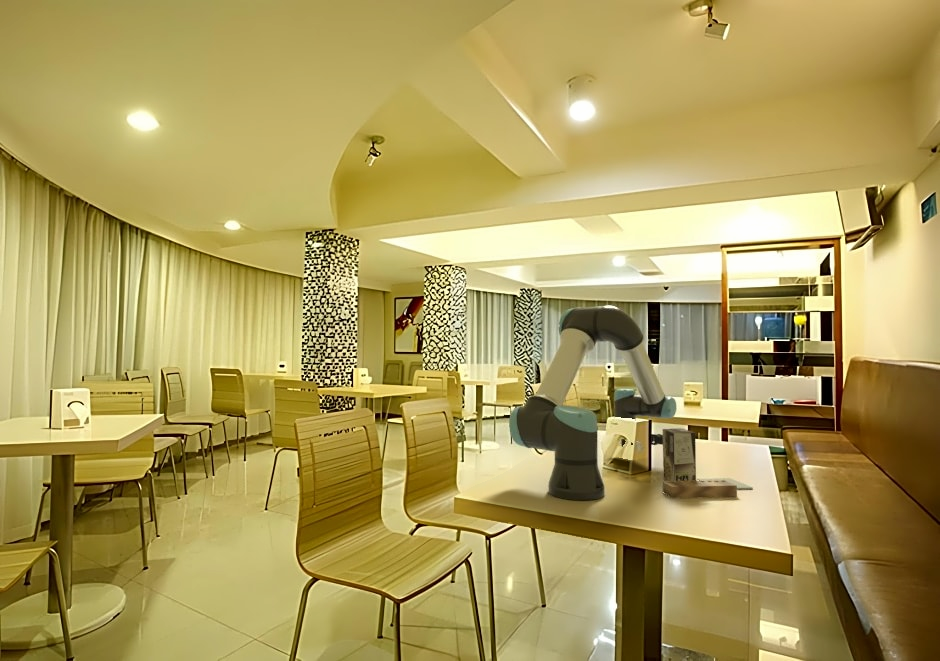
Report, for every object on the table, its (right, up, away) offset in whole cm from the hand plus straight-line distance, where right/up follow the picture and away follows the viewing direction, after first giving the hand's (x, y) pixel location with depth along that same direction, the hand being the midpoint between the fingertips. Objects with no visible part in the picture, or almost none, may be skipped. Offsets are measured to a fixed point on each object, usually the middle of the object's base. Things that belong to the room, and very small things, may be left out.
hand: (662, 446), depth 161 cm
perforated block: (+3, -9, -20) cm, 22 cm away
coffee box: (+1, -9, -11) cm, 14 cm away
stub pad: (+14, -9, -10) cm, 19 cm away
